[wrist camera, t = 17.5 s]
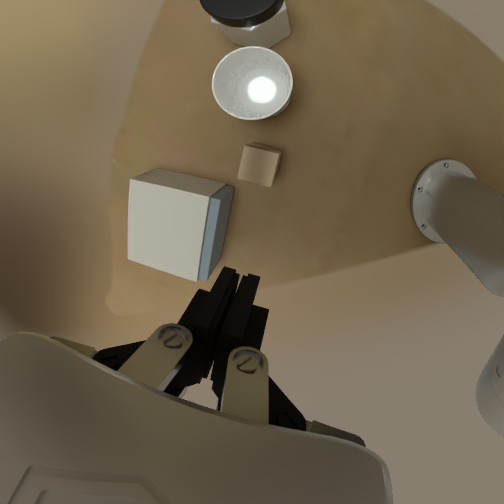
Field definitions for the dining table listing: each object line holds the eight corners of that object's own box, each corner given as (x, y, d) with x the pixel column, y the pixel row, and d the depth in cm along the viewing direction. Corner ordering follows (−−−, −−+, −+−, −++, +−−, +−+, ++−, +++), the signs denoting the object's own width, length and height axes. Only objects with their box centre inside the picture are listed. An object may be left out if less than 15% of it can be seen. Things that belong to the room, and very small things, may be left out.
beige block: (283, 149, 35) (279, 153, 29) (276, 177, 36) (270, 187, 31) (253, 142, 35) (244, 145, 30) (247, 170, 37) (237, 178, 31)
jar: (301, 12, 25) (298, -30, 15) (279, 58, 29) (268, 29, 19) (239, -4, 25) (214, -44, 15) (217, 40, 29) (182, 12, 18)
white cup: (303, 112, 32) (303, 106, 23) (246, 128, 34) (226, 130, 25) (284, 58, 29) (276, 36, 20) (227, 77, 31) (201, 63, 23)
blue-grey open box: (234, 187, 38) (220, 200, 32) (220, 258, 43) (206, 281, 37) (163, 171, 38) (139, 181, 33) (157, 240, 44) (136, 258, 38)
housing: (226, 183, 38) (209, 197, 31) (213, 256, 44) (196, 281, 37) (157, 168, 39) (130, 178, 32) (151, 238, 44) (127, 259, 38)
